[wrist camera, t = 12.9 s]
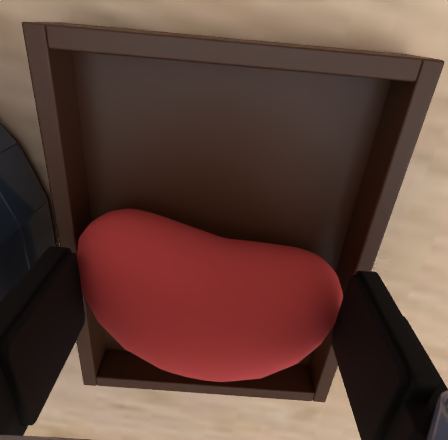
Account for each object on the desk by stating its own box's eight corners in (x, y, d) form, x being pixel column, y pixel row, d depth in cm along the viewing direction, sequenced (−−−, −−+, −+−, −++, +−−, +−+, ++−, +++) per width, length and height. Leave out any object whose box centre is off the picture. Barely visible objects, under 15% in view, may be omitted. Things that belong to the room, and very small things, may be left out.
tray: (99, 347, 18) (83, 385, 16) (58, 22, 11) (20, 21, 9) (315, 363, 18) (325, 403, 16) (410, 54, 11) (446, 60, 9)
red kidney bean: (245, 321, 18) (333, 412, 13) (54, 310, 14) (63, 445, 8) (278, 226, 17) (385, 279, 12) (87, 180, 13) (121, 233, 7)
